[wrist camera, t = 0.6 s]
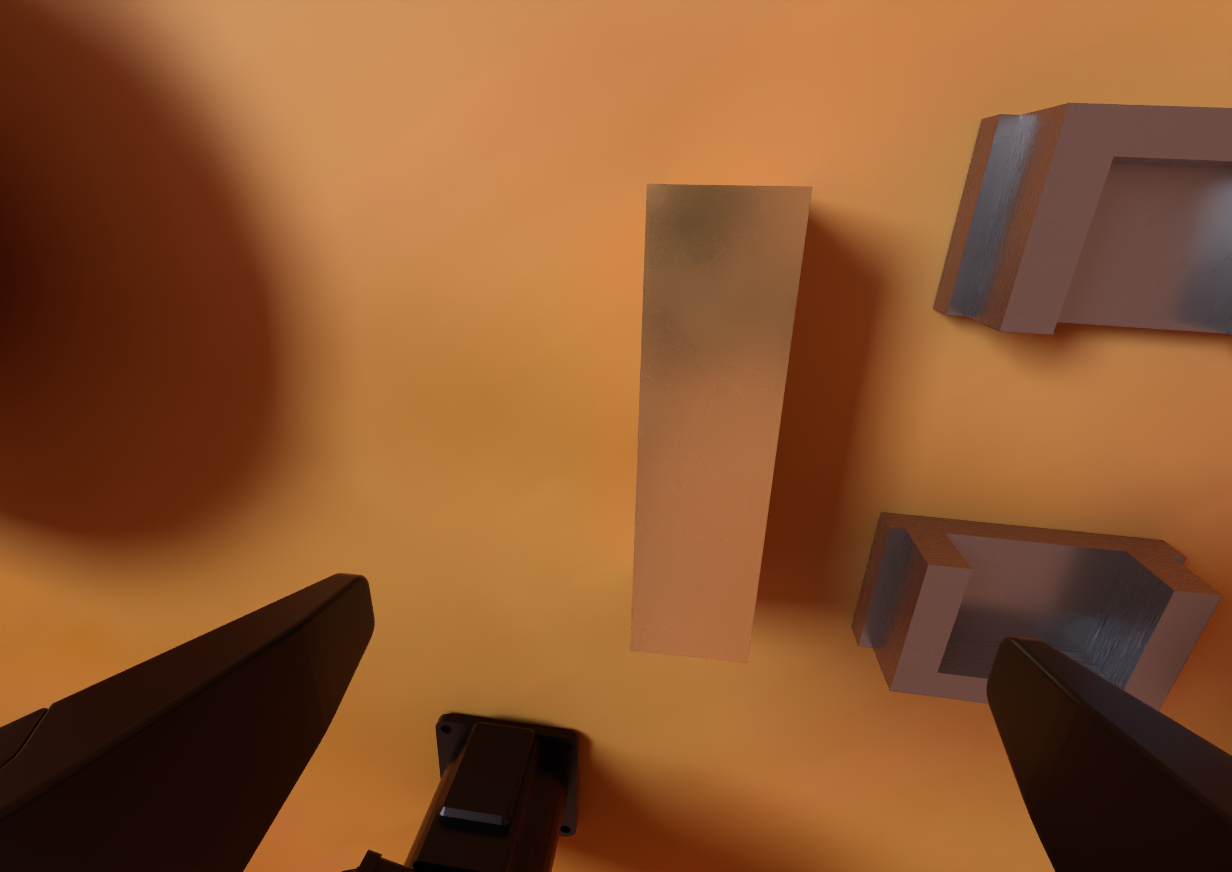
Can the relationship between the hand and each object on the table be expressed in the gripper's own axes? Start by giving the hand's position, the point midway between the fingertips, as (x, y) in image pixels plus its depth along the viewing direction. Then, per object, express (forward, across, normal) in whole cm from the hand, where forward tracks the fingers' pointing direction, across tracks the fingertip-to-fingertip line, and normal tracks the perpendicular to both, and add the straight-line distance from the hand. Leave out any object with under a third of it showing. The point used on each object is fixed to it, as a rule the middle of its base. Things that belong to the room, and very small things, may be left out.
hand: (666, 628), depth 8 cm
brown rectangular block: (+12, -1, 0) cm, 12 cm away
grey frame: (+12, -12, +1) cm, 17 cm away
